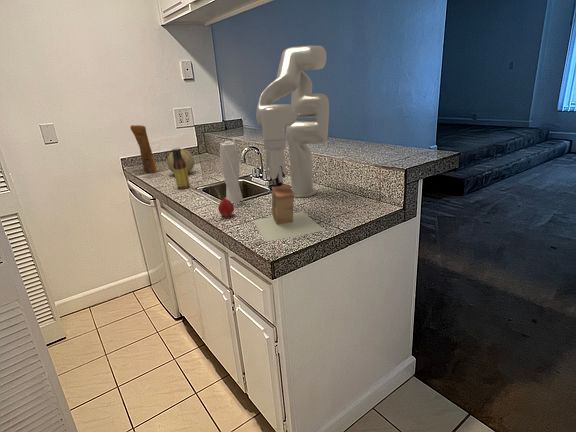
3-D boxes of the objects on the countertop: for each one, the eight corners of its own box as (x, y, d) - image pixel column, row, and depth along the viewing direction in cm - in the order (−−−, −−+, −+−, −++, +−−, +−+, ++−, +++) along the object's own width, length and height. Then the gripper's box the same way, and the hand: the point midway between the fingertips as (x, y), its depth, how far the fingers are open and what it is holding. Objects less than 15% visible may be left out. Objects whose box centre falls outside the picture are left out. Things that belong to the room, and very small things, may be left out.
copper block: (272, 215, 131) (271, 187, 124) (287, 212, 133) (288, 184, 126) (276, 224, 126) (276, 195, 120) (292, 221, 128) (293, 193, 121)
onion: (216, 217, 138) (213, 198, 135) (228, 213, 142) (226, 194, 139) (225, 221, 134) (222, 201, 131) (237, 216, 138) (235, 196, 135)
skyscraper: (248, 201, 155) (241, 136, 145) (237, 207, 149) (229, 139, 138) (233, 199, 159) (225, 135, 149) (221, 205, 153) (212, 138, 143)
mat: (252, 221, 132) (252, 220, 132) (303, 212, 137) (303, 211, 137) (266, 243, 114) (266, 241, 114) (324, 231, 119) (324, 230, 119)
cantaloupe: (197, 175, 204) (193, 148, 198) (170, 179, 199) (165, 152, 193) (193, 169, 217) (189, 145, 211) (168, 173, 212) (164, 148, 206)
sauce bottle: (183, 185, 185) (177, 146, 178) (192, 186, 182) (186, 147, 174) (174, 189, 180) (167, 149, 172) (183, 190, 176) (176, 150, 169)
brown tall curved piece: (149, 174, 212) (139, 126, 201) (138, 170, 226) (128, 124, 215) (160, 172, 215) (151, 125, 205) (149, 167, 229) (140, 123, 219)
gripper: (259, 142, 128) (263, 191, 135) (269, 148, 115) (273, 203, 121) (279, 140, 130) (282, 188, 137) (291, 146, 117) (294, 199, 123)
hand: (278, 195), depth 129 cm, fingers closed
